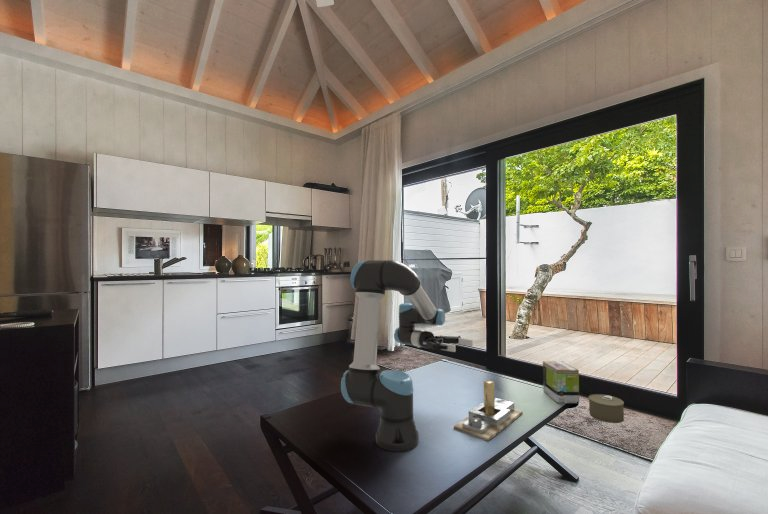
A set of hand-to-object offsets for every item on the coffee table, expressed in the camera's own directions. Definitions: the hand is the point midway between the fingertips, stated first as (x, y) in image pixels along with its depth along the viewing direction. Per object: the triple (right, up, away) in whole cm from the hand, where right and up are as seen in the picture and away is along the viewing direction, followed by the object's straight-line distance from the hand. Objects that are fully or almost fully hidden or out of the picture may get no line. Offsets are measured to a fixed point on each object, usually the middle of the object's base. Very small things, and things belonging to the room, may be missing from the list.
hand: (464, 345), depth 145 cm
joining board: (+8, -28, -8) cm, 30 cm away
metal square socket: (+8, -28, -8) cm, 30 cm away
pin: (+8, -27, -8) cm, 29 cm away
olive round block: (+56, -27, -6) cm, 62 cm away
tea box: (+48, -28, +15) cm, 57 cm away
